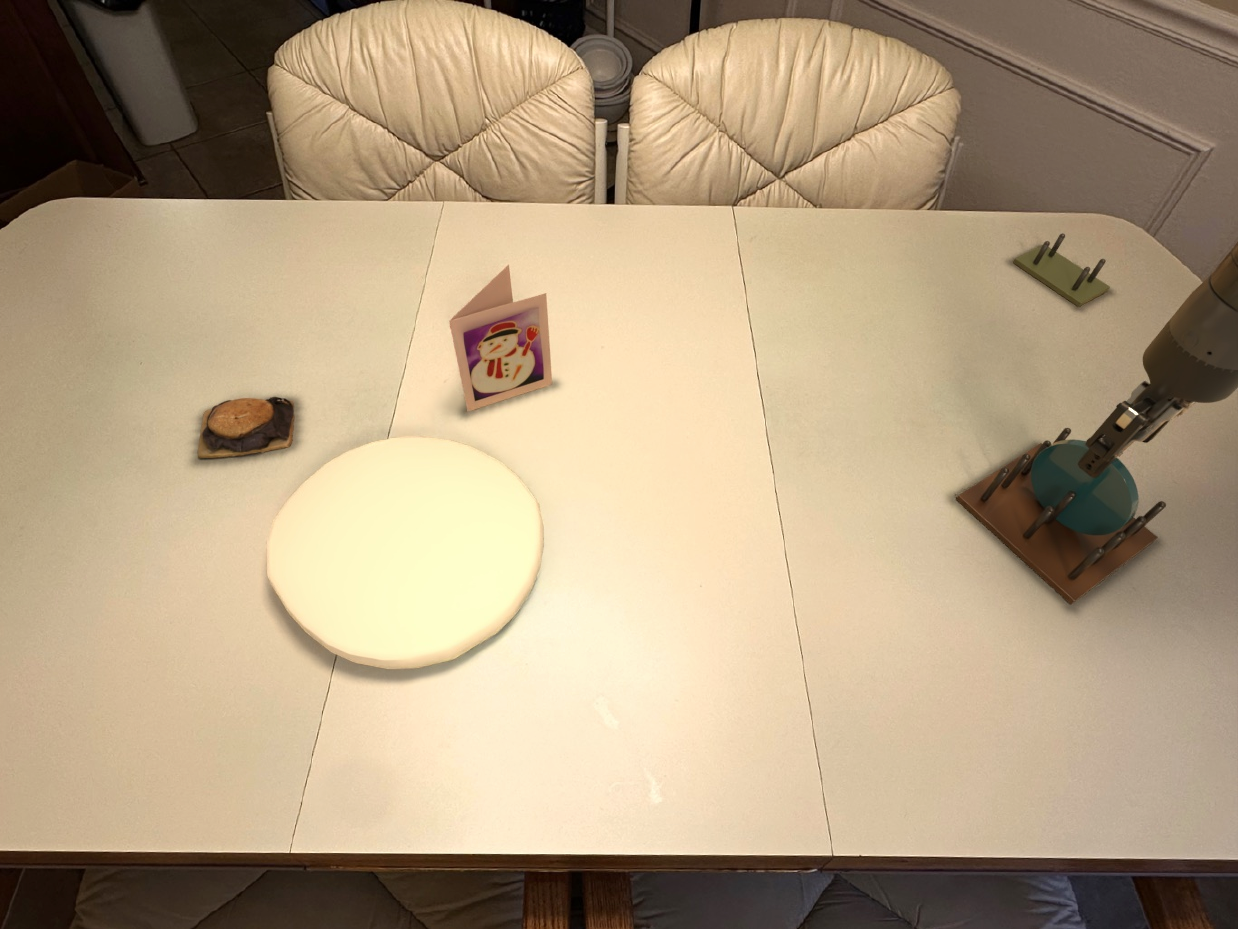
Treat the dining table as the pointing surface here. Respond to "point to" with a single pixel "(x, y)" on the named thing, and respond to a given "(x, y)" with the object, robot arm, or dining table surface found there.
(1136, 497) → the small plate
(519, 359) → the greeting card
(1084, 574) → the dish rack
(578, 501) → the dining table surface
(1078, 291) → the drying stand
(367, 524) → the plate
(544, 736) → the dining table surface
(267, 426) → the brown piece
